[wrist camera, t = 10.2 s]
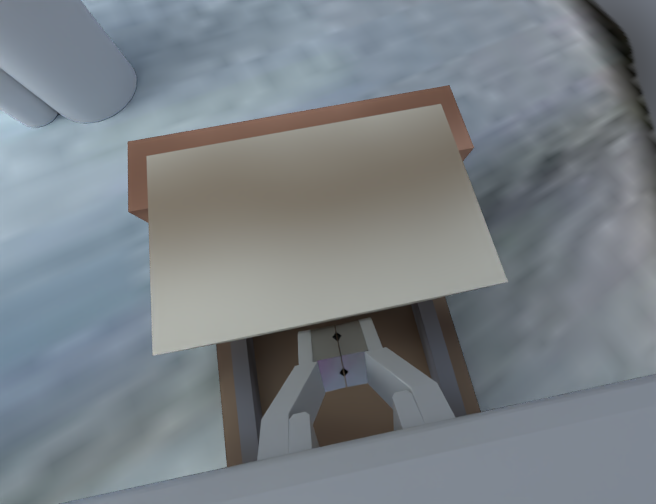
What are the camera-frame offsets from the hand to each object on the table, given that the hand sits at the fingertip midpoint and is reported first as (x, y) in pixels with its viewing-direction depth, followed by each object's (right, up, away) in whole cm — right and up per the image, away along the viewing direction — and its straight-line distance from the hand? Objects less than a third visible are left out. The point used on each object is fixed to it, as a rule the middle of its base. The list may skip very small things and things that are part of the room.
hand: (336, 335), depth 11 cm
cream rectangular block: (-1, +2, +4) cm, 5 cm away
